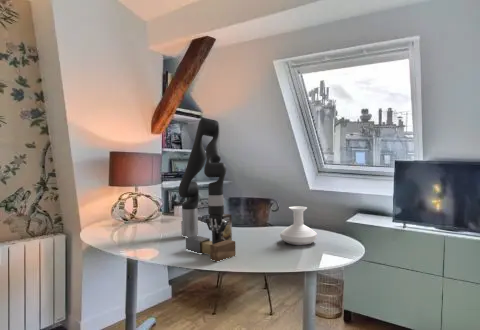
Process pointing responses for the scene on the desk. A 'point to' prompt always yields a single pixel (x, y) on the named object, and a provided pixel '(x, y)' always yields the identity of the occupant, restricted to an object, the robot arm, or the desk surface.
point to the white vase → (298, 229)
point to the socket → (222, 250)
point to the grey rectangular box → (195, 243)
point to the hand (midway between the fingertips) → (216, 239)
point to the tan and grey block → (209, 243)
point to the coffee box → (227, 228)
